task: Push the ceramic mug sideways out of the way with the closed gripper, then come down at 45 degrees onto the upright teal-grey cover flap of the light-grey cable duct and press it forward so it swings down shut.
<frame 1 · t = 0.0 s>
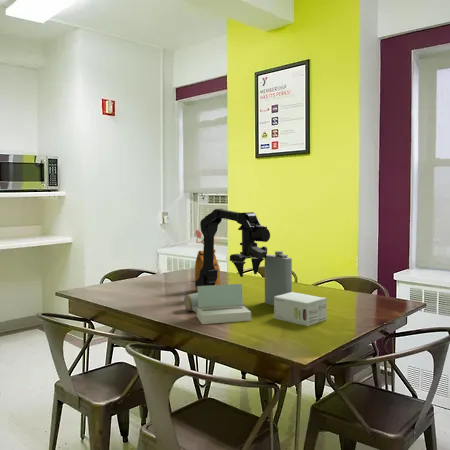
hand: (248, 275, 207), 15 cm above the table, tool pointing down, fingers open, 9 cm apart
coffee package: (208, 291, 247), on the table
supplement box: (299, 320, 189), on the table
flask: (278, 305, 213), on the table
cable duct: (220, 315, 196), on the table
figurine: (210, 281, 275), on the table
ceramic mug: (197, 311, 205), on the table
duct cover: (220, 296, 195), point 8 cm above the table, hinge at 96.0°
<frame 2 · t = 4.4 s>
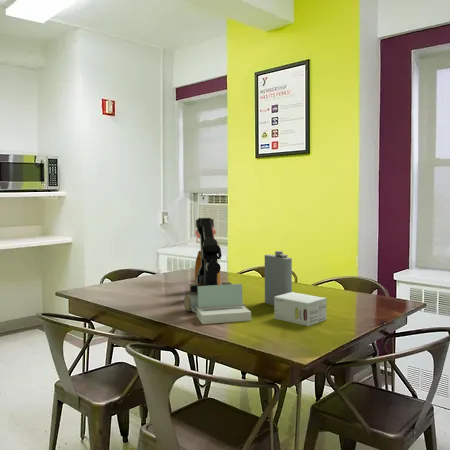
hand: (211, 306, 206), 1 cm above the table, tool pointing down, fingers closed
ceramic mug: (196, 311, 204), on the table, touching gripper
everything else where it was.
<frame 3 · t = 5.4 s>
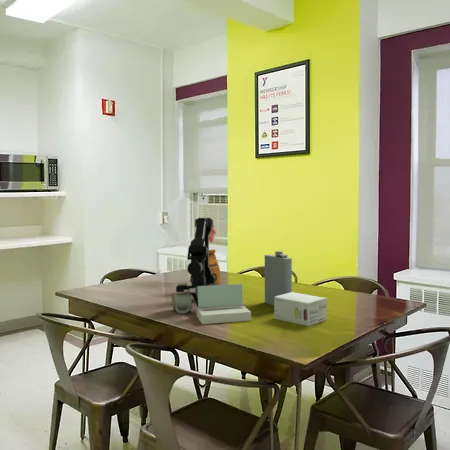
hand: (198, 307, 204), 1 cm above the table, tool pointing down, fingers closed
ceramic mug: (183, 311, 204), on the table, touching gripper
everything else where it was.
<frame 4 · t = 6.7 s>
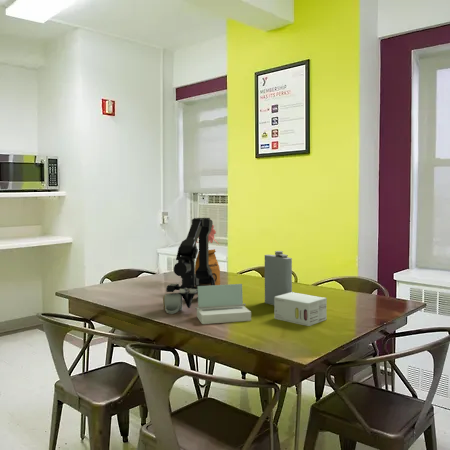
hand: (188, 307, 204), 1 cm above the table, tool pointing down, fingers closed
ceramic mug: (173, 311, 204), on the table, touching gripper
everything else where it was.
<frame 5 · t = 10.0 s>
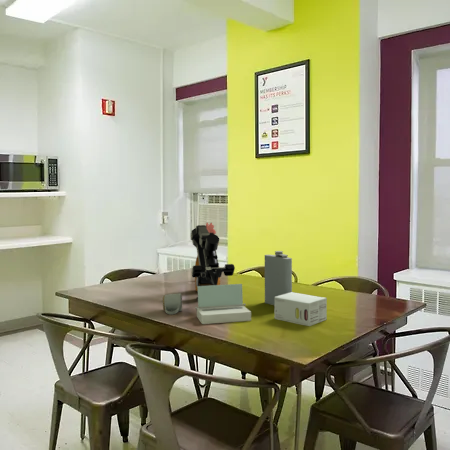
hand: (215, 286, 202), 11 cm above the table, tool tilted 45°, fingers closed
ceramic mug: (173, 312, 203), on the table
everything else where it was.
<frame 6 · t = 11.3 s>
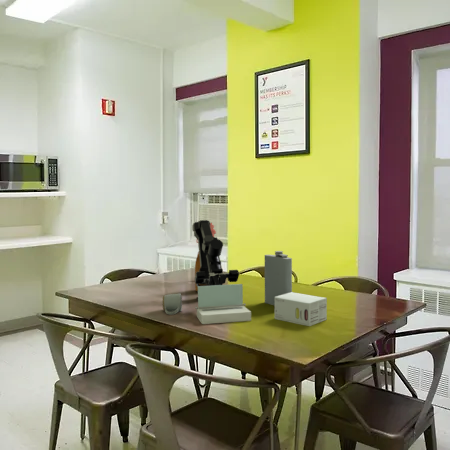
hand: (220, 293, 196), 9 cm above the table, tool tilted 45°, fingers closed, pressing on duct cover
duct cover: (220, 296, 195), point 8 cm above the table, hinge at 91.7°, touching gripper
everything else where it was.
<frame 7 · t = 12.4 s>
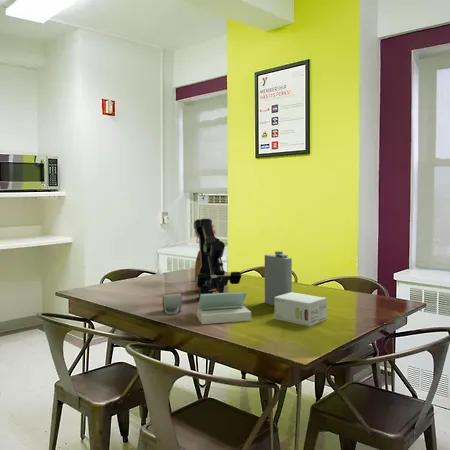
hand: (222, 295, 193), 9 cm above the table, tool tilted 45°, fingers closed
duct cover: (222, 300, 192), point 7 cm above the table, hinge at 47.5°
everything else where it was.
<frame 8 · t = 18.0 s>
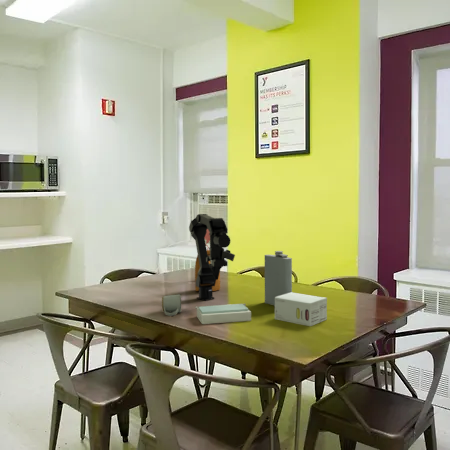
hand: (216, 279, 213), 12 cm above the table, tool pointing down, fingers closed
ceramic mug: (172, 313, 201), on the table
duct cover: (222, 308, 191), point 4 cm above the table, hinge at -0.7°, touching cable duct
everything else where it was.
at the end: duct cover at -1° (first picture: +96°); ceramic mug moved 11.2 cm from its start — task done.
